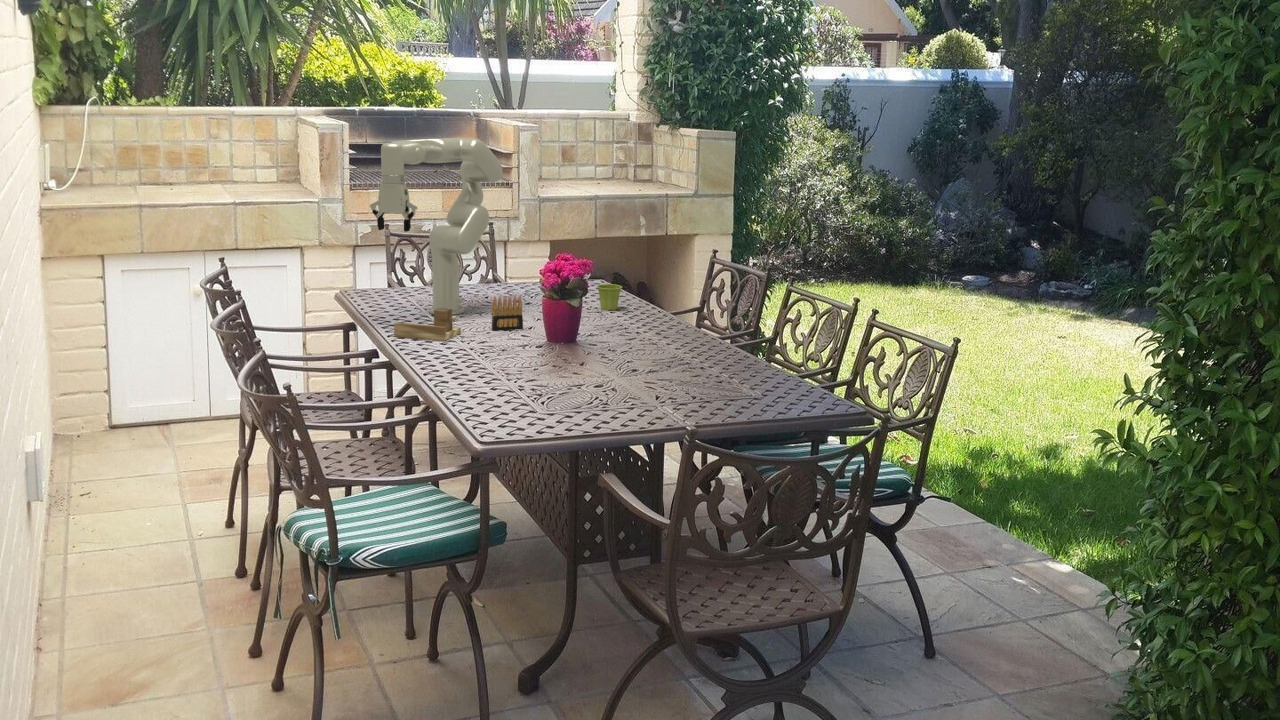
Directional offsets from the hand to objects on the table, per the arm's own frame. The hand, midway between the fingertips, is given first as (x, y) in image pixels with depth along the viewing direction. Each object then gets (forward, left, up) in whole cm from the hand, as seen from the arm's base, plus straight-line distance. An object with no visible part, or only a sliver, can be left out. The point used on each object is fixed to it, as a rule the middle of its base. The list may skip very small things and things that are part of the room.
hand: (394, 230), depth 437 cm
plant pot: (-53, +61, -32) cm, 87 cm away
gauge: (+10, +24, -30) cm, 40 cm away
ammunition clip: (-4, +40, -33) cm, 52 cm away
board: (+14, +19, -32) cm, 40 cm away
